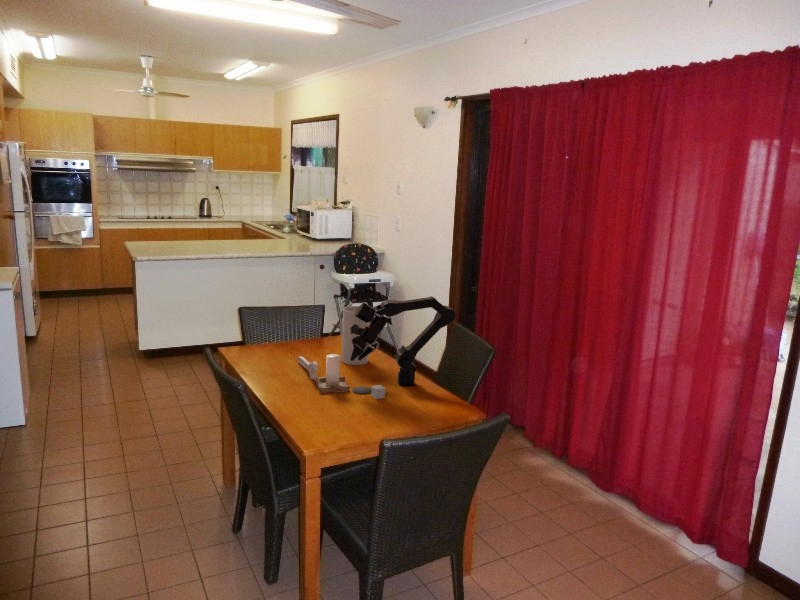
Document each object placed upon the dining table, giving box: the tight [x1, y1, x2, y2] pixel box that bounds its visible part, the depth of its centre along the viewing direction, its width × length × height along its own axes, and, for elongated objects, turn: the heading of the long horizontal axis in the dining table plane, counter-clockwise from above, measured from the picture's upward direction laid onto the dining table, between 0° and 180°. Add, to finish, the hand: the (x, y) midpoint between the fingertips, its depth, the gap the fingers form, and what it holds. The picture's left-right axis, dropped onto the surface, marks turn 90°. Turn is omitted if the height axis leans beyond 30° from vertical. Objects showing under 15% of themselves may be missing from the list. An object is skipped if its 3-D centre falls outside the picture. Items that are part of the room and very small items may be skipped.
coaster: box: [351, 386, 372, 395], centre depth 233 cm, size 8×8×1 cm
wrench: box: [297, 355, 319, 380], centre depth 250 cm, size 8×2×30 cm
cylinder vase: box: [341, 305, 371, 366], centre depth 266 cm, size 12×12×25 cm
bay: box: [315, 375, 350, 394], centre depth 235 cm, size 12×12×2 cm
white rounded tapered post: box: [325, 353, 341, 387], centre depth 234 cm, size 6×6×12 cm
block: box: [370, 384, 386, 400], centre depth 227 cm, size 4×4×4 cm
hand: (355, 360), depth 237 cm, fingers open, 9 cm apart
